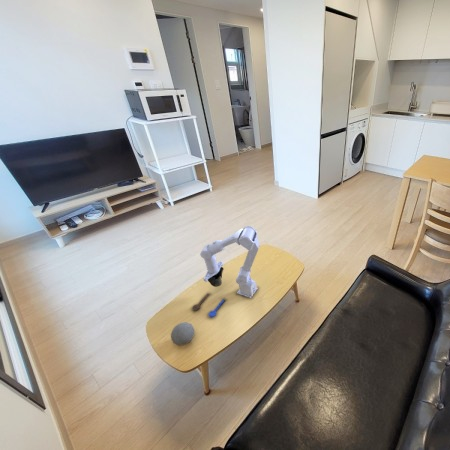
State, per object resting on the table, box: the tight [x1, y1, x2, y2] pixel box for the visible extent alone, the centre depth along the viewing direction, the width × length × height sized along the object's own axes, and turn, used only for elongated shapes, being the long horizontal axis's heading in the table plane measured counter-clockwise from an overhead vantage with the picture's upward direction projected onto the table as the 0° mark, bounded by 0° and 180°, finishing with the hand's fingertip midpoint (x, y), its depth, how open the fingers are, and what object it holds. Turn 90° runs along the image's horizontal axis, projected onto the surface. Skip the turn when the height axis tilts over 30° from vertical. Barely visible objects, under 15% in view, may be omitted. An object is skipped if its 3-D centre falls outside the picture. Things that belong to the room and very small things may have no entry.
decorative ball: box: [170, 321, 195, 346], centre depth 113 cm, size 10×10×10 cm
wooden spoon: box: [192, 293, 210, 312], centre depth 133 cm, size 12×4×1 cm, turn 158°
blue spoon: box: [208, 298, 226, 318], centre depth 130 cm, size 12×4×1 cm, turn 158°
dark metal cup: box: [212, 273, 223, 288], centre depth 137 cm, size 6×6×6 cm
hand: (216, 281), depth 138 cm, fingers closed on dark metal cup, 5 cm apart
